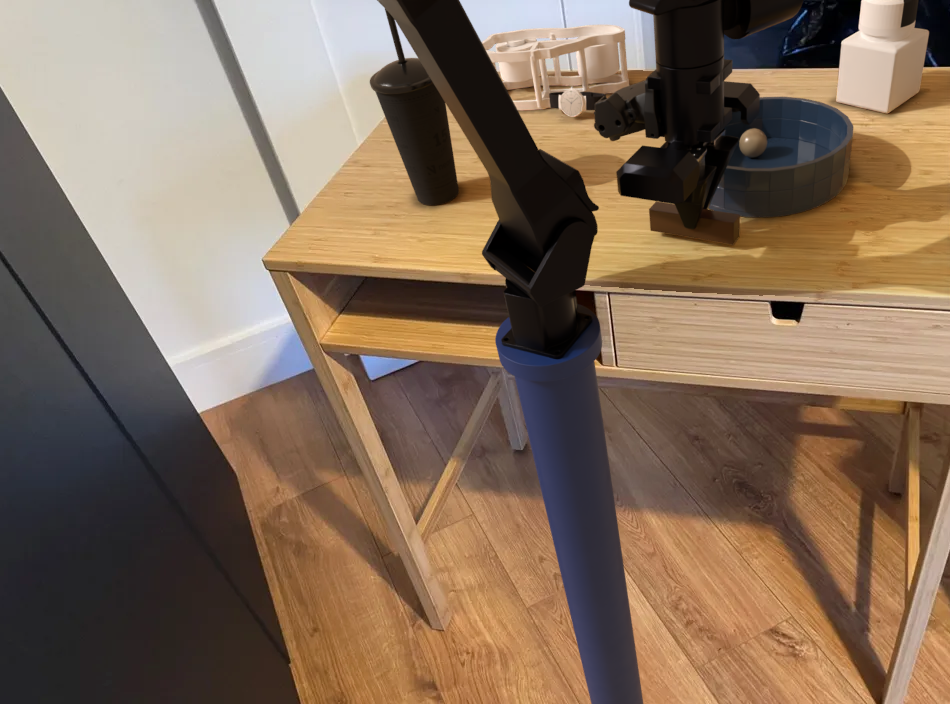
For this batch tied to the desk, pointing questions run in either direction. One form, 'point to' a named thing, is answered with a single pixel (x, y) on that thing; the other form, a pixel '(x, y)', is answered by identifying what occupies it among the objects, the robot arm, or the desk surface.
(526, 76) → the skeletal toy car
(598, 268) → the desk surface
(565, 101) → the watch
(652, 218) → the brown rectangular block
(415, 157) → the drinking cup
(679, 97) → the robot arm
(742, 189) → the bowl
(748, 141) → the bead
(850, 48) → the medicine bottle
